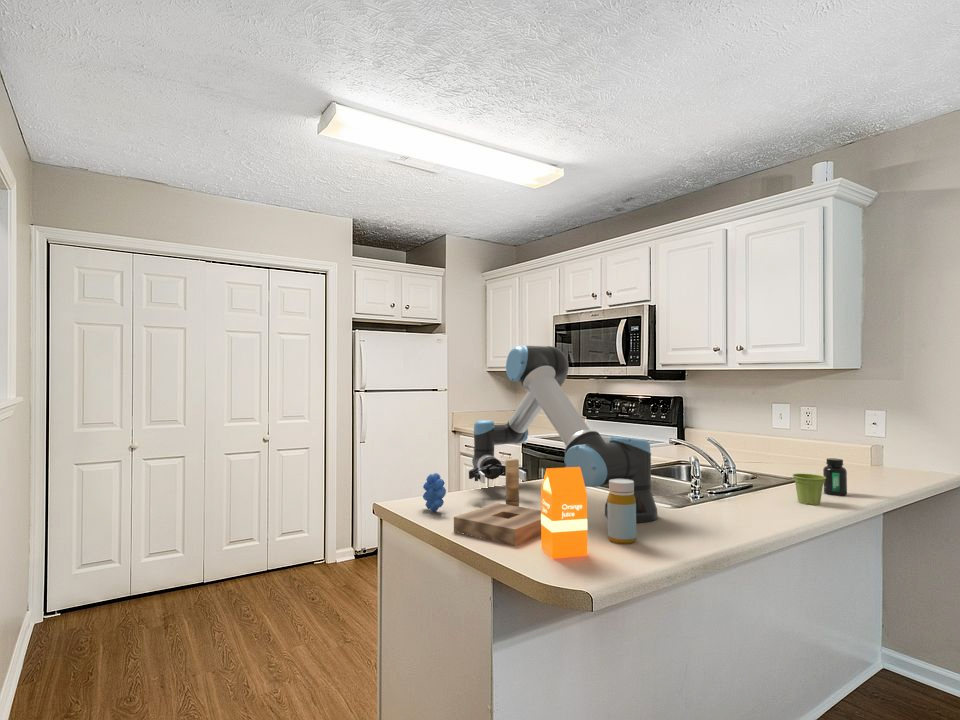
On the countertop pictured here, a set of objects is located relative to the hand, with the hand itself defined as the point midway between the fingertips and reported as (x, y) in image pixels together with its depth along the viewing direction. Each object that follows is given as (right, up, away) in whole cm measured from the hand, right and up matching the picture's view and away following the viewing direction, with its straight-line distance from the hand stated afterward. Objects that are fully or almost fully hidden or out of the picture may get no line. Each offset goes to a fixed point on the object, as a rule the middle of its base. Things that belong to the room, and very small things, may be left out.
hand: (504, 477), depth 181 cm
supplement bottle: (+115, -9, +14) cm, 116 cm away
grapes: (-21, -9, -6) cm, 24 cm away
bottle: (+28, -8, -37) cm, 48 cm away
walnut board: (-1, -8, -27) cm, 29 cm away
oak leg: (+2, -9, -9) cm, 13 cm away
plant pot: (+98, -9, +2) cm, 99 cm away
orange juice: (+12, -8, -46) cm, 49 cm away
